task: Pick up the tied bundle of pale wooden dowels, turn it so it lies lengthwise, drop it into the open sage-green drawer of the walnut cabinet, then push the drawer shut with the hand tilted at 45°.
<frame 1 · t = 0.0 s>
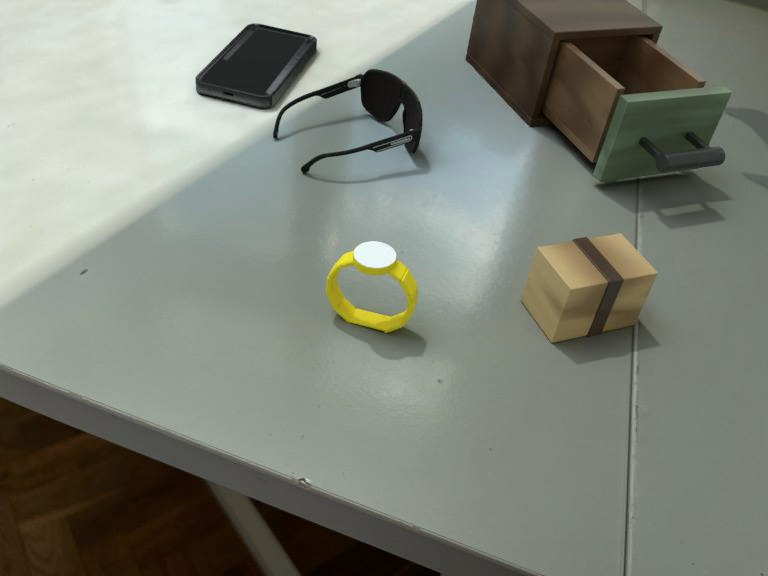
sunglasses: (345, 145, 70), on the table
watch: (367, 324, 53), on the table
cabinet: (545, 86, 83), on the table
drawer: (635, 111, 71), point 5 cm above the table, slide at 10.0 cm
phone: (259, 69, 79), on the table
bundle: (577, 312, 56), on the table
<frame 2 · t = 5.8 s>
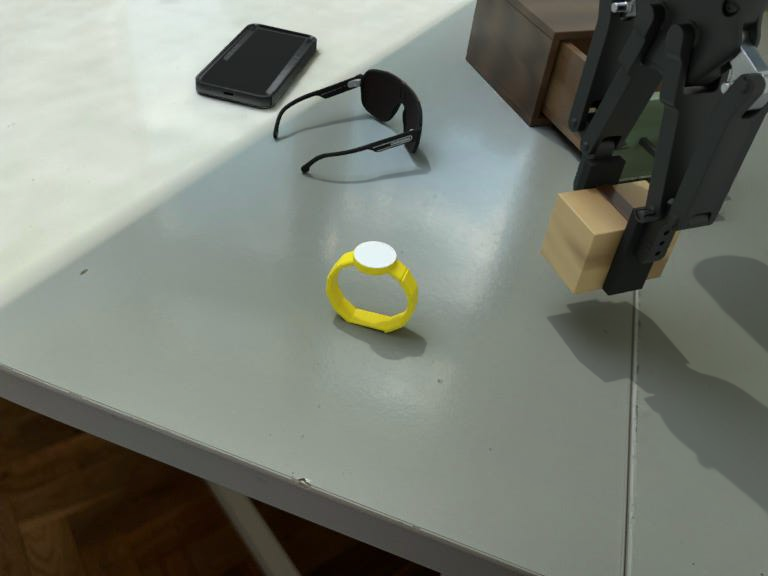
hand: (599, 262, 53), 5 cm above the table, tool pointing down, fingers closed on bundle, 5 cm apart
bundle: (599, 265, 54), point 5 cm above the table, touching gripper
everything else where it was.
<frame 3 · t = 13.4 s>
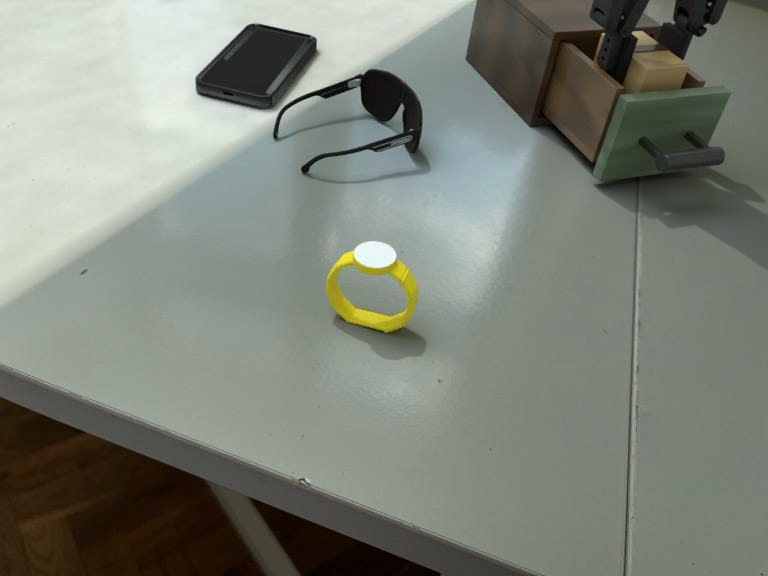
hand: (627, 98, 72), 5 cm above the table, tool pointing down, fingers closed on bundle, 5 cm apart
bundle: (626, 100, 72), point 5 cm above the table, touching gripper
everything else where it was.
when the fingers open (7 cm above the table, at t = 18.3 s): bundle stays where it is, resting on drawer.
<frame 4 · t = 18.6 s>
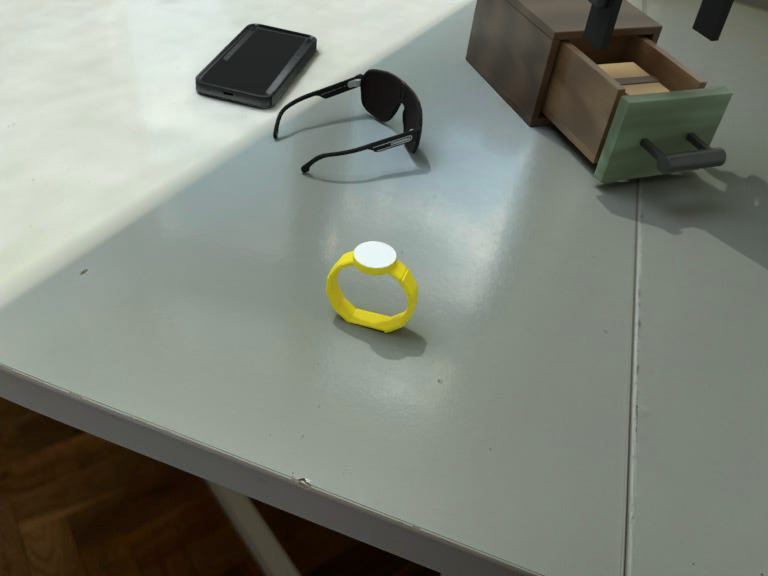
hand: (651, 38, 68), 11 cm above the table, tool pointing down, fingers open, 11 cm apart
drawer: (635, 112, 71), point 5 cm above the table, slide at 10.1 cm, touching bundle
bundle: (617, 129, 74), point 2 cm above the table, touching drawer
everything else where it was.
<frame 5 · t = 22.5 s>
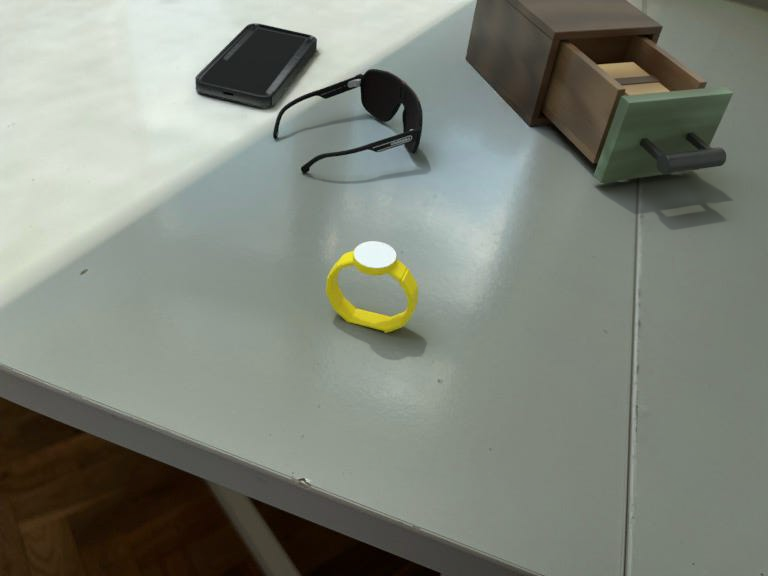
nothing on the table moved.
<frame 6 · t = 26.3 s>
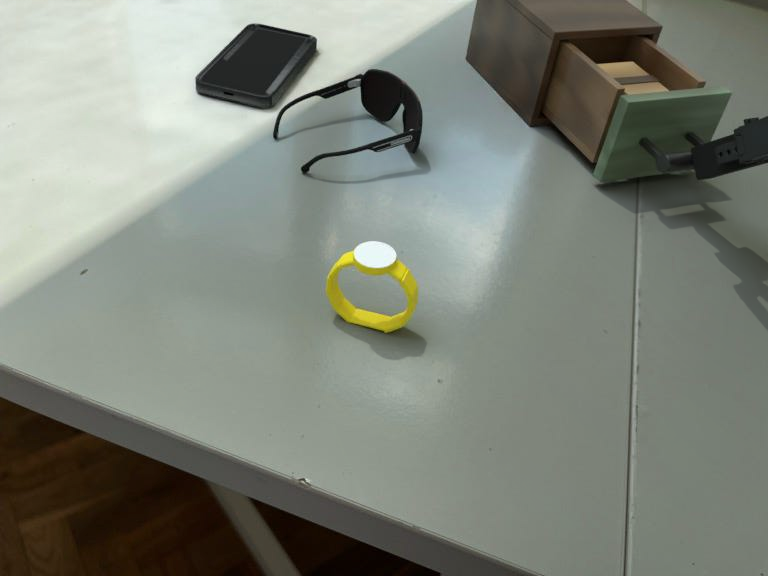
hand: (700, 163, 64), 5 cm above the table, tool tilted 45°, fingers closed
drawer: (635, 111, 71), point 5 cm above the table, slide at 10.0 cm, touching bundle, gripper
everything else where it was.
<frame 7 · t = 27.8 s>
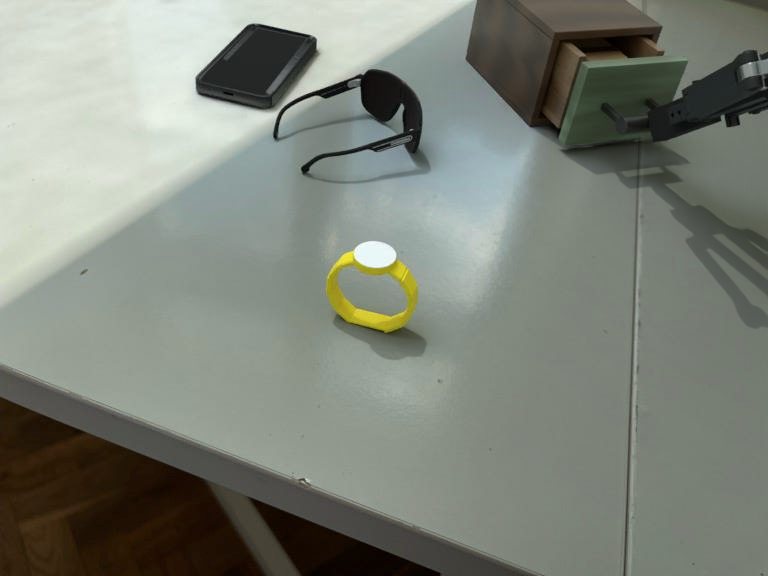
hand: (656, 126, 68), 5 cm above the table, tool tilted 45°, fingers closed
drawer: (598, 80, 75), point 5 cm above the table, slide at 4.0 cm, touching bundle, gripper
bundle: (583, 97, 78), point 2 cm above the table, touching drawer
everything else where it was.
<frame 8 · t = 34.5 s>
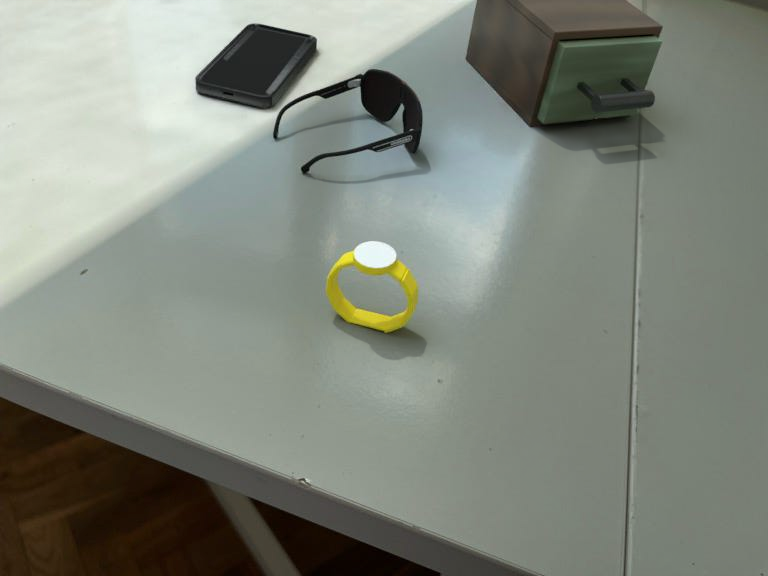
drawer: (576, 61, 78), point 5 cm above the table, slide at 0.0 cm, touching bundle
bundle: (562, 78, 80), point 2 cm above the table, touching drawer
everything else where it was.
at the end: bundle inside the target area in the cabinet (2.4 cm from its centre), point 2.1 cm above the cabinet's base; drawer slide at 0.0 cm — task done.
